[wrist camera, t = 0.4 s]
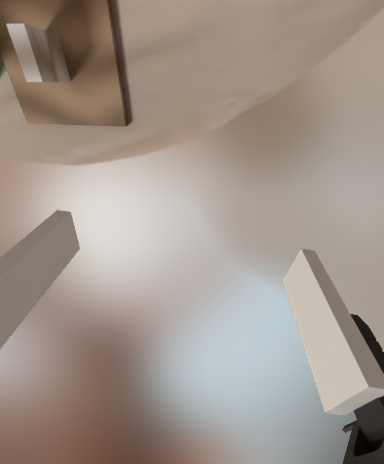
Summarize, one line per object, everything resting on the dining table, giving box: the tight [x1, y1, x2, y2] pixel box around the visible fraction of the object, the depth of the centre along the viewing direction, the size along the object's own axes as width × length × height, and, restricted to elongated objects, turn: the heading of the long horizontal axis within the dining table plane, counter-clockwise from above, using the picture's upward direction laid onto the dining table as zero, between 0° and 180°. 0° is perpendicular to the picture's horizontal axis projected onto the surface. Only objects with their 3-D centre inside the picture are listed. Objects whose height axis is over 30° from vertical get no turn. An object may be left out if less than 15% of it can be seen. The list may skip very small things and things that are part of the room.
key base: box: [0, 0, 128, 127], centre depth 27 cm, size 16×16×7 cm
